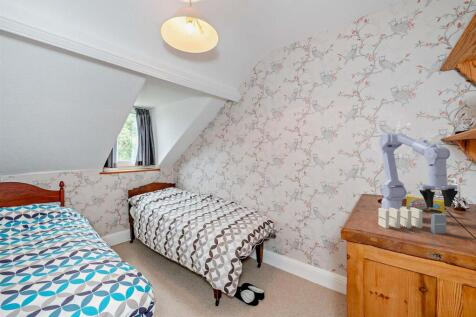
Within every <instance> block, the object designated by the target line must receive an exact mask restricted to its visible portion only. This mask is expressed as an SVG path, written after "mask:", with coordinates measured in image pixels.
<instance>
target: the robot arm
mask: <svg viewBox="0 0 476 317" xmlns="http://www.w3.org/2000/svg"><path fill="white" fill-rule="evenodd" d="M379 144H380V149H381V156H382V163H383V167H384V168H383V169H384V174H385V180H386V181H385V182H383V184H382V185H381V187H382V190H381V193H382V196H383V198H382V199H381V207H380V208H384V209H386V210H388V211H389V208H395V209H397V210H400V208H403V200H404V199H405V197H407V195H408V194H407V189H406V188H405V185H404V183H403V182H402V181H400V179H399V175H398V169H397V163H396V159H395V158H396V157H395V153H394V152H395V151H396V150H397V149H399V148H400V147H401V146H402V145H405V146H408V147H410V148H412V150H413V151H414V152H415V153H418V154H420V155H421V156H423V157H424V158H425V160H426V163H427V166H428V169H427V170H428V184H421V185H418V189H419V190H418V191H419V193H420V195H421V196H422V198H424V200H425V202H426V205H427V207H430V208H433V199H434V197H435V195H436V191H441V194H442V198H443V201H444V205H445V208H452V204H453V201H454V200H455V198H456V196H457V195H458V193H459V190H458V184H448V176H447V175H448V174H447V173H448V172H447V168H448V167H447V160H448V159H449V158H450V155H451V152H450V150H449V148H448V147H446V146H437V144H435V143H430V142H428V140H426V139H420V140H419V139H418V140H416V139H414V138H412V137H410V136H409V135H407V134H405V133H403V132H398V133H395V132H393V133H387V132H385V133H383V134H382V135H381V136H380V138H379Z"/></svg>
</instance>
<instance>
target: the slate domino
mask: <svg viewBox="0 0 476 317" xmlns="http://www.w3.org/2000/svg"><path fill="white" fill-rule="evenodd" d="M430 233H433V234H446V233H447V214H446V213H445V214H430Z"/></svg>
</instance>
